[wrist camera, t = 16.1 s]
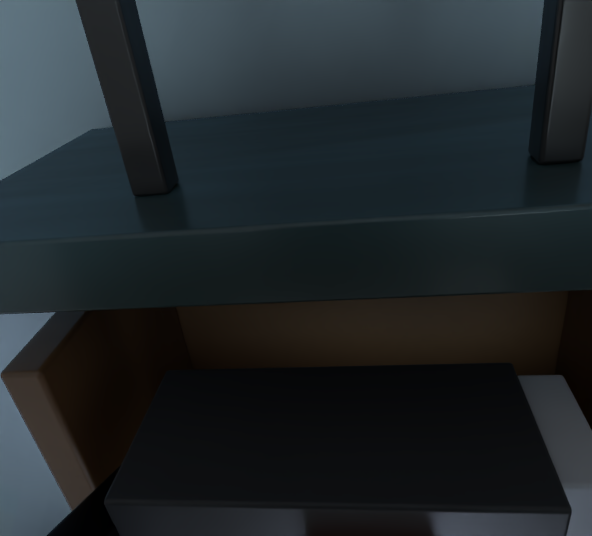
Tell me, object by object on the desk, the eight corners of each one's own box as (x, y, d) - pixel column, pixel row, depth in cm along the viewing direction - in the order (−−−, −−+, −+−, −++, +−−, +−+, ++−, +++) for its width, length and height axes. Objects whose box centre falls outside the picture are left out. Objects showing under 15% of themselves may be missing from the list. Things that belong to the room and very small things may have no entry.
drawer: (16, -103, 11) (-398, -201, 5) (720, -228, 9) (1483, -666, 3) (205, 491, 20) (142, 703, 14) (563, 497, 18) (662, 747, 12)
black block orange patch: (195, 462, 11) (139, 631, 8) (166, 368, 9) (87, 529, 7) (544, 464, 10) (620, 659, 7) (563, 359, 8) (665, 546, 6)
